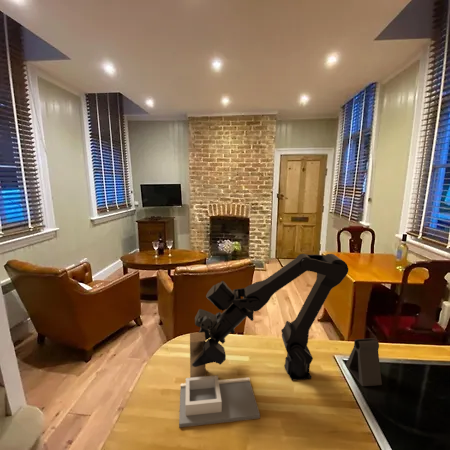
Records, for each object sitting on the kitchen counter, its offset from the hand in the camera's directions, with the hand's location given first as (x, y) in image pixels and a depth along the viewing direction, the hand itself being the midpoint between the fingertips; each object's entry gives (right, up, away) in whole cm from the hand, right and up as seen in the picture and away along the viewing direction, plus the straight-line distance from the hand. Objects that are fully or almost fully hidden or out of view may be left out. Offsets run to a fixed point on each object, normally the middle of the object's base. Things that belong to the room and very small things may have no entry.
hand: (192, 355), depth 78 cm
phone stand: (+53, -7, +2) cm, 53 cm away
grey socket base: (+8, -8, -9) cm, 14 cm away
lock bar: (+1, -6, +1) cm, 7 cm away
